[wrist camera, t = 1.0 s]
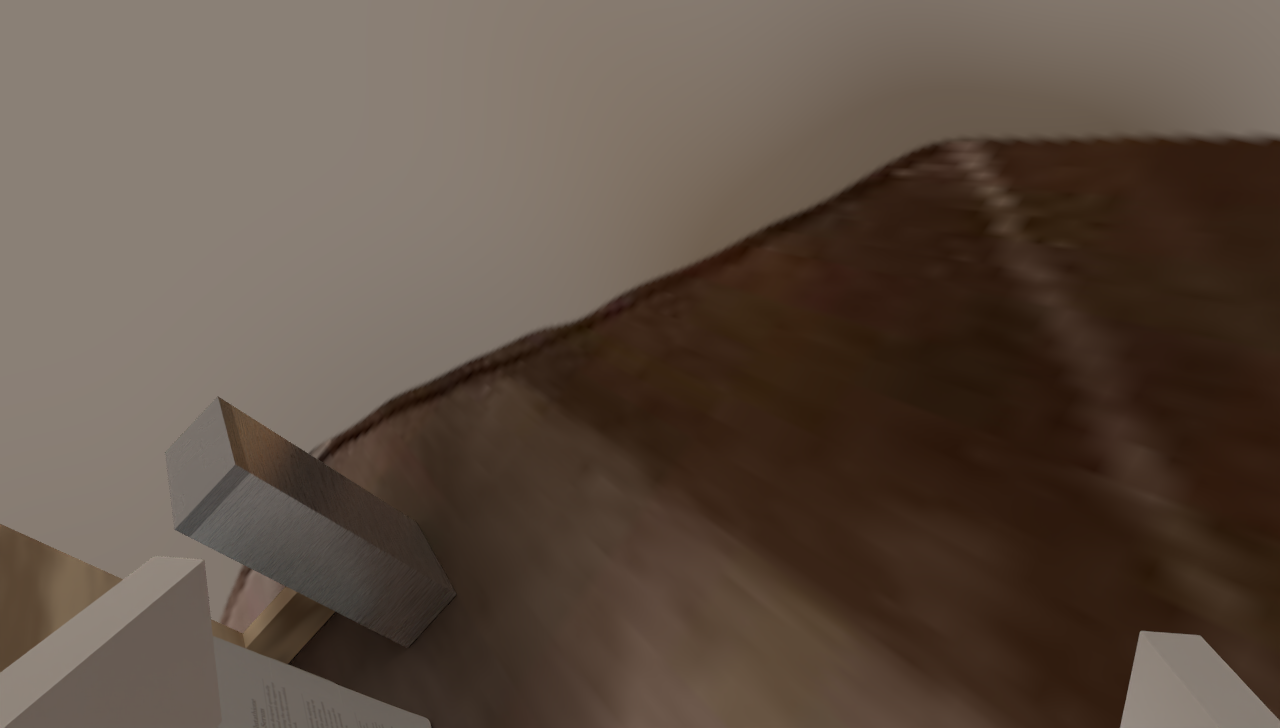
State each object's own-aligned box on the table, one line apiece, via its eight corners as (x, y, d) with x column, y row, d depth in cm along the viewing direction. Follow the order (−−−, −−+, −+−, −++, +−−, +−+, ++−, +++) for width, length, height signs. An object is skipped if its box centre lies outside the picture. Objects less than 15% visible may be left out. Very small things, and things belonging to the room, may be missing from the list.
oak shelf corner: (367, 557, 57) (109, 408, 46) (484, 822, 39) (111, 683, 29) (265, 669, 56) (-22, 545, 45) (337, 989, 39) (-101, 912, 28)
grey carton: (416, 522, 56) (217, 396, 47) (456, 594, 50) (235, 464, 41) (373, 569, 56) (165, 452, 47) (407, 648, 49) (174, 529, 40)
